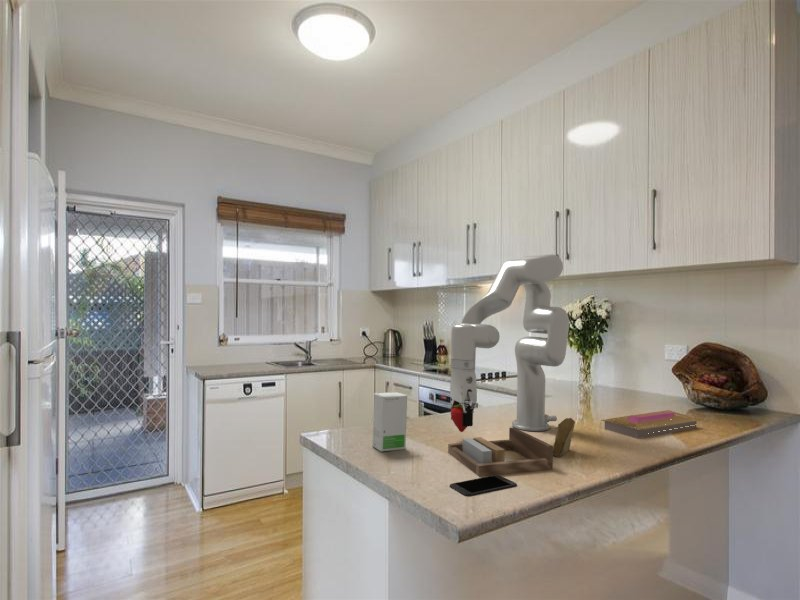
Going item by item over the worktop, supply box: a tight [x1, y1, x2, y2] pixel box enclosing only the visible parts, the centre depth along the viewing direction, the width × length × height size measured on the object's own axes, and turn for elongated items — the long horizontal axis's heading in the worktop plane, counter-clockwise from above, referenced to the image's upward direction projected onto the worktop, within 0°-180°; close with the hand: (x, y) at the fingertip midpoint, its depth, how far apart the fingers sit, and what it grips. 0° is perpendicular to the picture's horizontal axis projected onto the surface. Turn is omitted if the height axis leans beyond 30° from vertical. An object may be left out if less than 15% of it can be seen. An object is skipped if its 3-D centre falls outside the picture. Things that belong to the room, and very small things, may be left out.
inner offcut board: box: [472, 436, 506, 463], centre depth 125 cm, size 2×12×5 cm, turn 20°
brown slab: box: [600, 409, 701, 439], centre depth 165 cm, size 35×14×6 cm, turn 119°
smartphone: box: [449, 474, 518, 497], centre depth 108 cm, size 7×15×1 cm, turn 119°
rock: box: [552, 417, 576, 458], centre depth 135 cm, size 11×9×10 cm
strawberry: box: [450, 404, 468, 433], centre depth 142 cm, size 6×8×10 cm
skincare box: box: [372, 392, 408, 453], centre depth 136 cm, size 8×7×16 cm
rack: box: [447, 426, 554, 477], centre depth 126 cm, size 21×19×6 cm
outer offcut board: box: [462, 437, 492, 464], centre depth 124 cm, size 2×12×5 cm, turn 17°
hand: (461, 422), depth 142 cm, fingers closed on strawberry, 7 cm apart
